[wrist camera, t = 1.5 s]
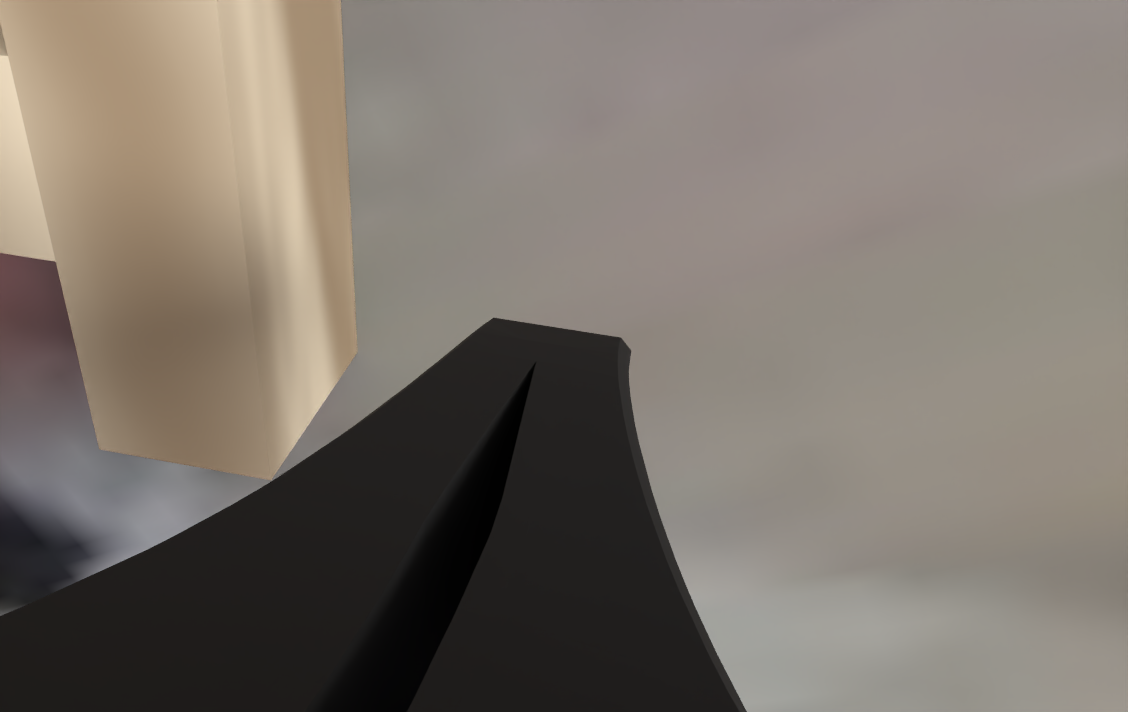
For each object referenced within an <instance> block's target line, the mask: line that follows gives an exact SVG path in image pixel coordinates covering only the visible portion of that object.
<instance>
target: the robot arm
mask: <svg viewBox="0 0 1128 712" xmlns="http://www.w3.org/2000/svg"><path fill="white" fill-rule="evenodd" d="M630 356H631V350H630V349H629V347H628V346H627V345H626V343H625V342H624V341H623V340H622V338H619V337H613V336H607V335H600V334H594V333H587V332H581V331H575V330H568V329H562V328H556V327H549V326H543V325H536V324H530V323H524V322H517V321H511V320H505V319H498V318H493V319H491V320H490V321H488V322H487V323H485V324H484V325H483V326H481V327H480V328H479V329H477V330H476V331H475V332H474V333H472V334H471V335H470V336H469V337H467V338H466V339H465V340H464V341H462V342H461V343H460V344H459V345H458V346H456V347H455V348H454V349H453V350H451V351H450V352H449V353H448V354H447V355H445V356H444V357H443V358H442V359H440V360H439V361H438V362H437V363H435V364H434V365H433V366H432V367H430V368H429V369H428V370H427V371H425V372H424V373H423V374H422V375H420V376H419V377H418V378H417V379H415V380H414V381H413V382H412V383H410V384H409V385H408V386H407V387H405V388H404V389H403V390H401V391H400V392H399V393H397V394H396V395H395V396H393V397H392V398H391V399H389V400H388V401H387V402H385V403H384V404H383V405H381V406H380V407H379V408H377V409H376V410H375V411H373V412H372V413H371V414H369V415H368V416H367V417H365V418H364V419H363V420H361V421H360V422H359V423H357V424H356V425H355V426H353V427H352V428H350V429H349V430H348V431H346V432H345V433H343V434H342V435H341V436H339V437H338V438H336V439H335V440H333V441H332V442H330V443H329V444H327V445H326V446H324V447H323V448H321V449H320V450H318V451H317V452H315V453H314V454H312V455H311V456H309V457H308V458H306V459H305V460H303V461H302V462H300V463H299V464H297V465H296V466H294V467H293V468H291V469H290V470H288V471H287V472H285V473H284V474H282V475H281V476H279V477H278V478H276V479H275V480H273V481H271V482H270V483H268V484H267V485H265V486H263V487H262V488H260V489H258V490H257V491H255V492H253V493H251V494H250V495H248V496H246V497H245V498H243V499H241V500H239V501H238V502H236V503H234V504H233V505H231V506H229V507H227V508H225V509H223V510H222V511H220V512H218V513H216V514H214V515H212V516H211V517H209V518H207V519H205V520H203V521H201V522H199V523H198V524H196V525H194V526H192V527H190V528H188V529H187V530H185V531H183V532H181V533H179V534H177V535H175V536H174V537H172V538H170V539H168V540H166V541H164V542H162V543H160V544H158V545H156V546H154V547H152V548H150V549H148V550H146V551H144V552H141V553H139V554H137V555H135V556H133V557H131V558H128V559H126V560H124V561H122V562H120V563H117V564H115V565H113V566H111V567H109V568H107V569H104V570H102V571H100V572H98V573H96V574H93V575H91V576H89V577H87V578H85V579H83V580H80V581H78V582H76V583H74V584H72V585H69V586H67V587H65V588H63V589H61V590H59V591H56V592H54V593H52V594H50V595H48V596H45V597H43V598H41V599H39V600H37V601H35V602H32V603H30V604H28V605H26V606H24V607H21V608H19V609H16V610H14V611H12V612H9V613H7V614H4V615H2V616H0V712H747V711H746V710H745V708H744V706H743V704H742V702H741V700H740V698H739V696H738V694H737V692H736V690H735V688H734V686H733V684H732V682H731V680H730V678H729V677H728V675H727V673H726V671H725V669H724V667H723V665H722V663H721V661H720V659H719V657H718V655H717V653H716V651H715V649H714V647H713V645H712V643H711V640H710V638H709V636H708V634H707V632H706V630H705V627H704V625H703V623H702V621H701V619H700V617H699V615H698V612H697V610H696V608H695V606H694V603H693V601H692V599H691V596H690V594H689V592H688V589H687V587H686V585H685V582H684V580H683V577H682V575H681V572H680V570H679V567H678V565H677V562H676V560H675V557H674V554H673V551H672V549H671V546H670V543H669V540H668V538H667V535H666V532H665V529H664V527H663V524H662V521H661V518H660V515H659V512H658V509H657V506H656V503H655V500H654V496H653V493H652V490H651V486H650V483H649V479H648V475H647V472H646V468H645V464H644V460H643V457H642V453H641V449H640V445H639V441H638V437H637V432H636V427H635V422H634V416H633V410H632V404H631V398H630V388H629V363H630Z"/></svg>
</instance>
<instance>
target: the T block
mask: <svg viewBox="0 0 1128 712" xmlns="http://www.w3.org/2000/svg"><path fill="white" fill-rule="evenodd" d="M0 253H4V254H11V255H17V256H23V257H30V258H36V259H42V260H49V261H55V262H56V265H57V269H58V273H59V278H60V282H61V286H62V291H63V295H64V299H65V304H66V308H67V312H68V317H69V321H70V325H71V329H72V334H73V338H74V342H75V347H76V351H77V355H78V360H79V364H80V368H81V373H82V377H83V381H84V385H85V390H86V394H87V398H88V403H89V407H90V411H91V416H92V420H93V424H94V429H95V433H96V437H97V442H98V446H99V449H100V450H106V451H111V452H117V453H122V454H128V455H133V456H139V457H145V458H150V459H156V460H161V461H167V462H172V463H178V464H184V465H189V466H195V467H200V468H206V469H211V470H217V471H223V472H228V473H234V474H239V475H245V476H250V477H256V478H262V479H267V480H272V478H273V477H274V475H275V474H276V472H277V471H278V469H279V468H280V466H281V465H282V463H283V462H284V460H285V459H286V457H287V456H288V454H289V453H290V451H291V450H292V448H293V447H294V445H295V444H296V443H297V441H298V440H299V438H300V437H301V435H302V434H303V432H304V431H305V429H306V428H307V426H308V425H309V423H310V422H311V420H312V419H313V417H314V416H315V414H316V413H317V411H318V410H319V408H320V407H321V405H322V404H323V402H324V401H325V400H326V398H327V397H328V395H329V394H330V392H331V391H332V389H333V388H334V386H335V385H336V383H337V382H338V380H339V379H340V377H341V376H342V374H343V373H344V371H345V370H346V368H347V367H348V365H349V364H350V362H351V361H352V360H353V358H354V357H355V355H356V354H357V333H356V312H355V291H354V269H353V248H352V227H351V206H350V185H349V164H348V143H347V122H346V100H345V79H344V58H343V37H342V16H341V0H0Z"/></svg>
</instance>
